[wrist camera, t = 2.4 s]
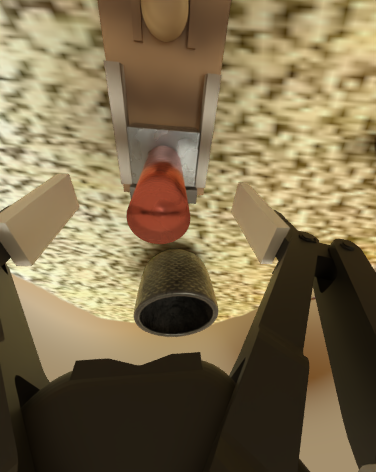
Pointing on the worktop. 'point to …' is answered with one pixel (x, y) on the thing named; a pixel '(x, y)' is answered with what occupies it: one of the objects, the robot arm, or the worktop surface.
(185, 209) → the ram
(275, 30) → the worktop surface
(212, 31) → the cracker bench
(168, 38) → the walnut
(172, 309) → the planter
